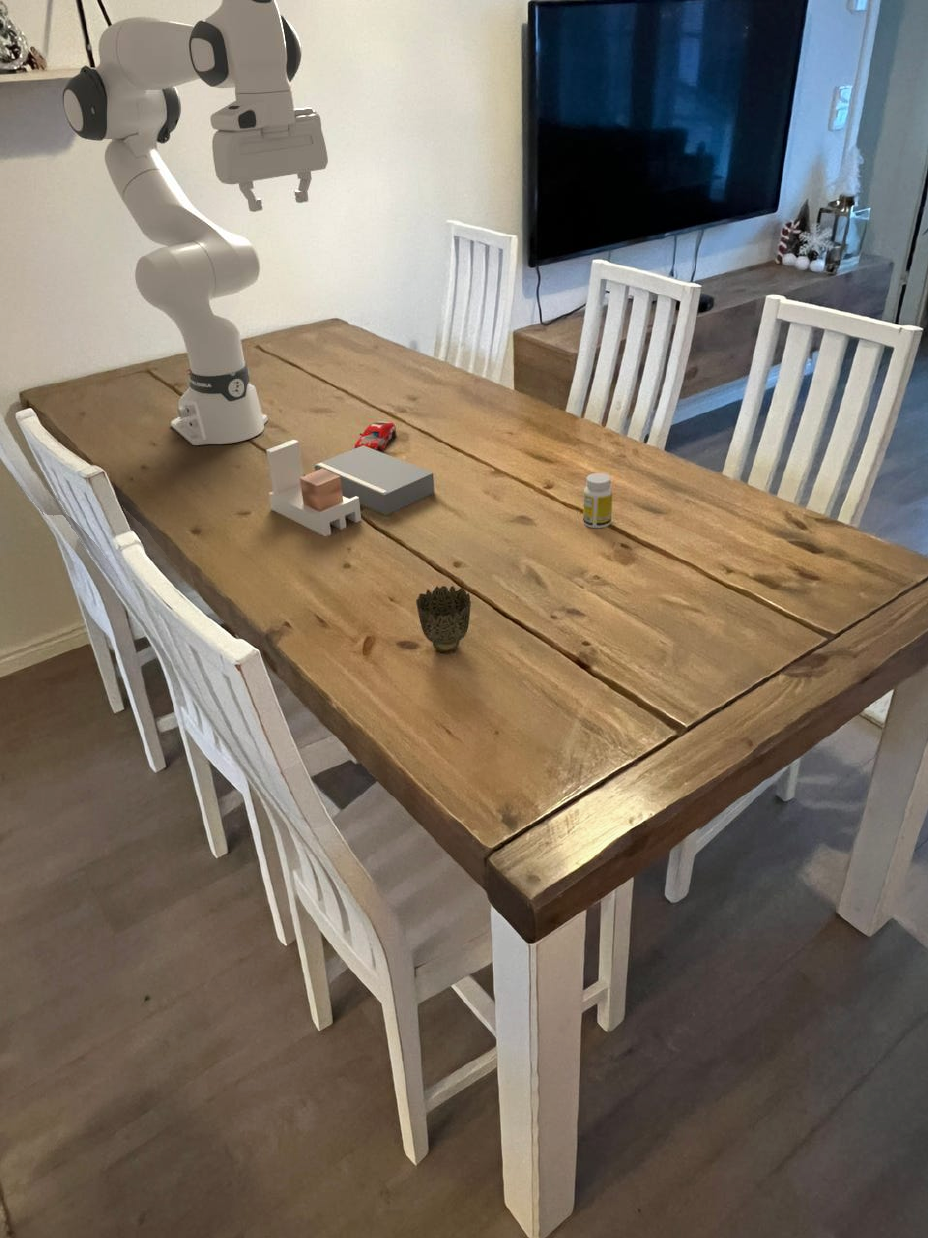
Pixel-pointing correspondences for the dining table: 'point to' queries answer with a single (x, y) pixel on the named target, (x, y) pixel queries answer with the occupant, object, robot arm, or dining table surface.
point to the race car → (377, 435)
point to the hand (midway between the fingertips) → (279, 206)
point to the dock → (379, 479)
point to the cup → (444, 616)
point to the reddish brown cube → (321, 490)
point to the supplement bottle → (597, 501)
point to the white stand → (289, 494)
